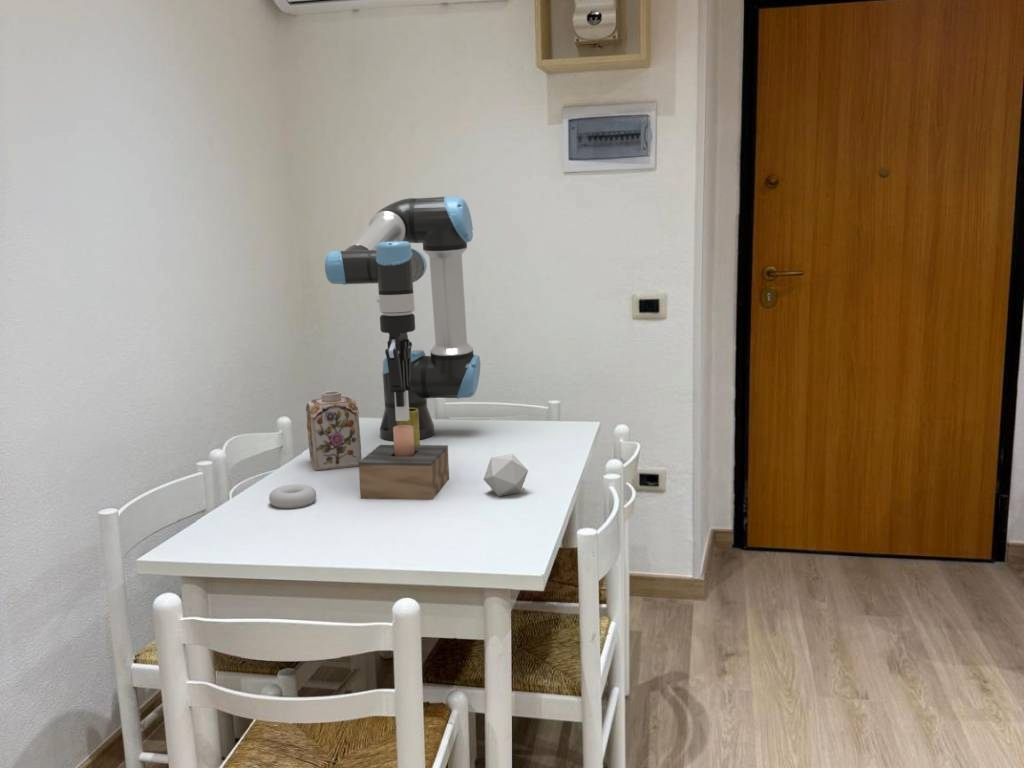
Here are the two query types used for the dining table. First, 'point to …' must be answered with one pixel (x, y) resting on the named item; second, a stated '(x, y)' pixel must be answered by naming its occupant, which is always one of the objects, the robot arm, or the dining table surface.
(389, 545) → the dining table surface
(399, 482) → the socket block
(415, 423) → the vase
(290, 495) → the donut
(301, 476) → the dining table surface
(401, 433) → the peg
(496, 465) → the die
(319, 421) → the decorative jar
